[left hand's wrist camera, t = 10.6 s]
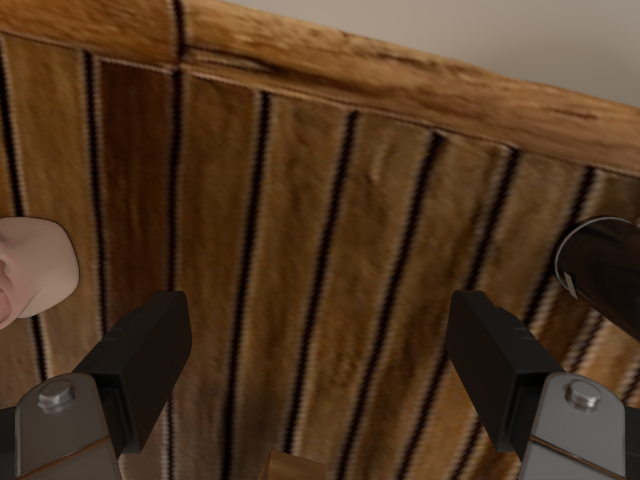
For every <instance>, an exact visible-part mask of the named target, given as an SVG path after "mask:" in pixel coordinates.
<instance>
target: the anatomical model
mask: <svg viewBox="0 0 640 480" xmlns="http://www.w3.org/2000/svg"><path fill="white" fill-rule="evenodd" d="M78 281H79V268H78V263H77V259H76V255H75V252H74V249H73V247H72V244H71V242H70V240H69V238H68V236H67V234H66V232H65V231H64V230H63V228H62V227H60V226H59V225H58V224H56V223H54V222H52V221H49V220H44V219H37V218H28V217H8V218H2V219H0V329H2V328H4V327H6V326H7V325H9V324H10V323H11V322H13V321H14V320H15V319H16V318H26V317H30V316H33V315H36V314H38V313H41V312H43V311H45V310H47V309H49V308H51V307H52V306H54V305H56V304H57V303H59V302H61V301H62V300H64V299H65V298H66V297H68V296H69V295H70V294H71V293H72V292H73V291H74V290H75V288H76V287H77V284H78Z"/></svg>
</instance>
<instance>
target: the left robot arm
mask: <svg viewBox="0 0 640 480" xmlns="http://www.w3.org/2000/svg"><path fill="white" fill-rule="evenodd" d="M553 271H554V275H555V277H556V278H557V280H558V281H559V282H560V283H561V284H562V285H563V286H564V287H565V288H567V289H568V290H570V294H571V295H572V296H574V297H575V298H576V299H577V296H579V297H580V298H581V299H582V300H584V301H585V302H586V303H587V304H589V305H590V306H591V307H593V308H594V309H595V310H596V311H598V312H599V313H600V314H602V315H603V316H604V317H605V318H607V319H608V320H609V321H611V322H612V323H613V324H615V325H616V326H617V327H618V328H620V329H621V330H622V331H624V332H625V333H626V334H627V335H629V336H630V337H631V338H633V339H634V340H635V341H637V342H638V343H639V344H640V227H639V226H636V225H634V224H632V223H630V222H628V221H626V220H624V219H622V218H619V217H615V216H599V217H594V218H591V219H588V220H585V221H583V222H581V223H579V224H578V225H576V226H575V227H573V228H572V229H571V230H570V231H569V232H567V233H566V235H565V236H564V237H563V238H562V239H561V241H560V242H559V244H558V246H557V248H556V250H555V252H554V256H553ZM576 295H577V296H576ZM446 346H447V351H448V354H449V357H450V359H451V361H452V363H453V365H454V367H455V369H456V371H457V373H458V375H459V377H460V379H461V381H462V383H463V385H464V387H465V389H466V391H467V393H468V395H469V397H470V399H471V401H472V403H473V405H474V407H475V409H476V411H477V413H478V415H479V417H480V419H481V421H482V423H483V425H484V427H485V429H486V431H487V433H488V435H489V437H490V439H491V441H492V443H493V445H494V447H495V449H496V451H497V452H516V453H517V455H518V457H519V459H520V461H521V463H522V466H521V469H520V473H519V477H518V480H640V409H637V408H633V407H628V406H624V405H623V404H622V402H621V401H620V399H619V398H618V397H617V396H616V395H615V394H614V393H613V392H612V391H611V390H609V389H608V388H607V387H605V386H604V385H602V384H600V383H598V382H596V381H594V380H592V379H590V378H587V377H585V376H582V375H578V374H574V373H567V372H566V371H565V370H564V369H563V368H562V367H561V366H560V365H559V364H558V362H557V361H556V360H555V359H554V358H553V357H552V356H551V355H550V354H549V352H548V351H547V350H546V349H545V348H544V347H543V346H542V345H541V343H540V342H539V341H538V340H536V338H535V337H534V336H533V335H532V333H531V332H530V331H527V328H526V327H525V326H524V324H523V323H522V322H521V321H520V320H519V319H518V318H517V317H516V316H515V315H513V314H511V313H510V312H508V311H506V310H505V309H503V308H502V307H495V306H494V304H493V303H492V302H491V301H490V300H489V298H488V297H487V296H486V295H485V294H484V292H483V291H480V290H456V291H454V292H453V294H452V298H451V305H450V312H449V319H448V326H447V332H446ZM191 347H192V333H191V326H190V319H189V312H188V305H187V299H186V295H185V293H184V292H183V291H156V292H155V293H154V294H153V295H152V296H151V297H150V299H149V300H148V301H147V302H146V303H145V305H144V306H143V307H142V308H136V309H134V310H132V311H131V312H129V313H127V314H126V315H124V316H123V317H121V318H120V319H119V320H118V321H117V322H116V324H115V325H114V326H113V327H112V328H111V329H110V331H108V332H107V333H106V335H105V336H104V337H103V338H102V341H99V342H98V343H97V345H96V346H95V347H94V348H93V349H92V350H91V351H90V352H89V353H88V355H87V356H86V357H85V358H84V359H83V360H82V361H81V362H80V363H79V365H78V366H77V367H76V368H75V369H74V370H73V371H72V372H71V373H66V374H62V375H58V376H55V377H53V378H50V379H48V380H46V381H44V382H42V383H40V384H38V385H36V386H35V387H33V388H32V389H31V390H29V391H28V392H27V393H26V394H25V395H24V396H23V397H22V398H21V399H20V401H19V402H18V404H17V406H14V407H10V408H5V409H1V410H0V480H122V477H121V473H120V469H119V466H118V462H117V460H118V458H119V456H120V455H121V453H141V451H142V449H143V447H144V445H145V443H146V441H147V439H148V437H149V435H150V433H151V431H152V429H153V427H154V425H155V423H156V421H157V419H158V417H159V415H160V413H161V411H162V409H163V407H164V405H165V403H166V401H167V399H168V397H169V395H170V393H171V392H172V390H173V388H174V386H175V384H176V382H177V380H178V378H179V376H180V374H181V372H182V370H183V368H184V366H185V364H186V362H187V360H188V358H189V355H190V352H191Z"/></svg>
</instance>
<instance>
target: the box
mask: <svg viewBox="0 0 640 480" xmlns="http://www.w3.org/2000/svg"><path fill="white" fill-rule="evenodd" d="M257 480H325V465H324V464H321V463H318V462H314V461H311V460H307V459H304V458H301V457H297V456H294V455H290V454H287V453H284V452H280V451H277V450H273V449H271V451H270V453H269V455H268V457H267V459H266V461H265V464H264V466H263V468H262V470H261V472H260V474H259V476H258V478H257Z"/></svg>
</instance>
